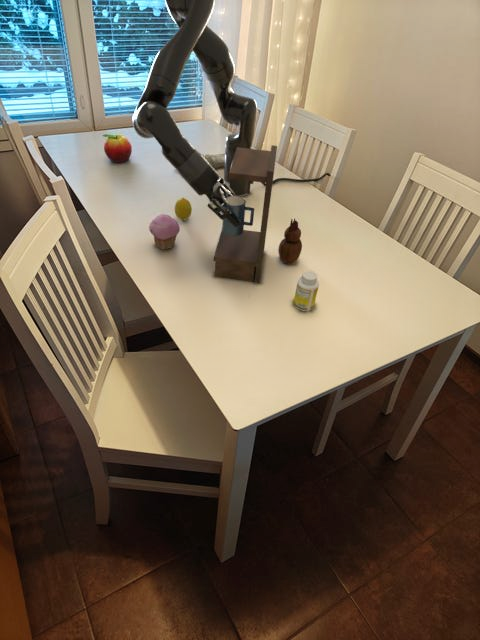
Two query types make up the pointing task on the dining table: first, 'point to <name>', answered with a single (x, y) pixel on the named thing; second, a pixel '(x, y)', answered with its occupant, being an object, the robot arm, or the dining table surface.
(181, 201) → the lemon
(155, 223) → the cupcake
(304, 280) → the supplement bottle
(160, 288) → the dining table surface
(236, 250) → the shelf
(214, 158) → the elongated rock
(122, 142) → the fruit
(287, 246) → the wooden figurine
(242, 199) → the mug
